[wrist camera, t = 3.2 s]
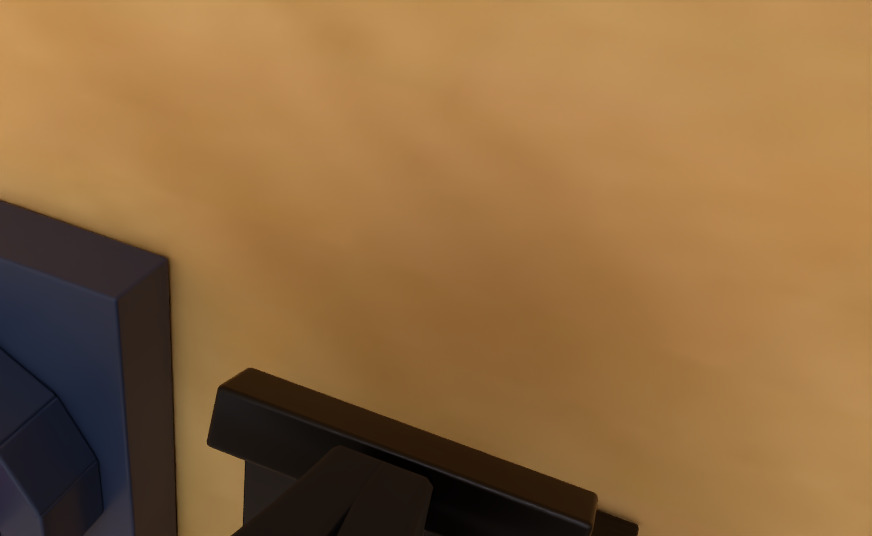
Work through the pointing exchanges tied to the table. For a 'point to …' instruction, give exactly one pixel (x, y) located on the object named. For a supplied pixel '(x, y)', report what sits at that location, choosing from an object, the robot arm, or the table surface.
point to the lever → (394, 459)
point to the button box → (83, 383)
